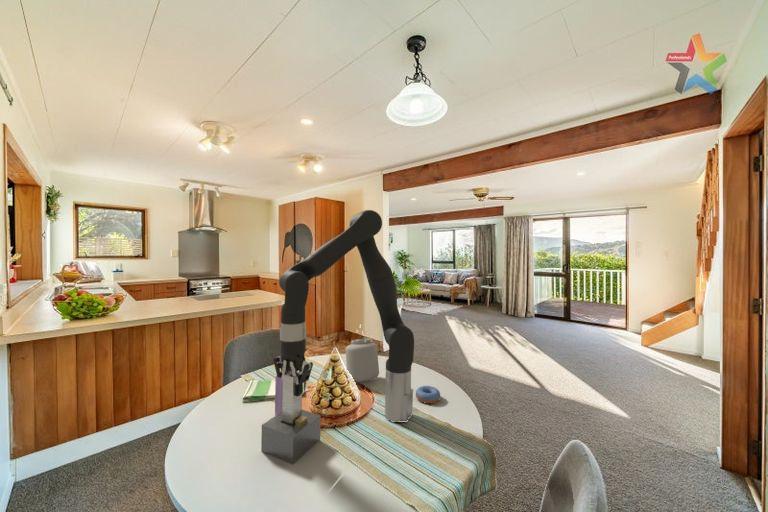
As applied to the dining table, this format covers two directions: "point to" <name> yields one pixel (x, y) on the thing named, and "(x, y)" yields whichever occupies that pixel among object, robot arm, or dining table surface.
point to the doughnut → (427, 394)
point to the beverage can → (278, 395)
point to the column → (290, 400)
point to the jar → (362, 360)
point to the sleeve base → (290, 436)
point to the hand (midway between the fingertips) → (292, 393)
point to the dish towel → (261, 391)
